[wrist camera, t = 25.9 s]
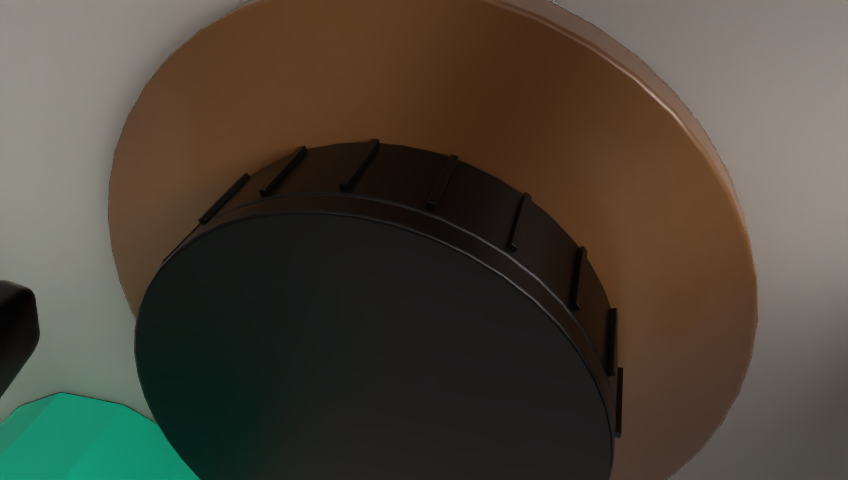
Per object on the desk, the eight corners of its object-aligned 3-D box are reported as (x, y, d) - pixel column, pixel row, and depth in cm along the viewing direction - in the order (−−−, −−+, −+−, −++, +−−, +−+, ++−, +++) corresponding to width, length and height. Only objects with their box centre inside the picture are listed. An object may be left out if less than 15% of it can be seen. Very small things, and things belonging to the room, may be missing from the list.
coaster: (905, 99, 8) (928, 126, 8) (606, 561, 14) (604, 599, 14) (127, -128, 9) (88, -121, 9) (139, 394, 15) (116, 422, 14)
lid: (600, 111, 9) (590, 184, 7) (636, 498, 12) (635, 605, 10) (132, 159, 11) (47, 224, 9) (272, 476, 14) (226, 563, 13)
